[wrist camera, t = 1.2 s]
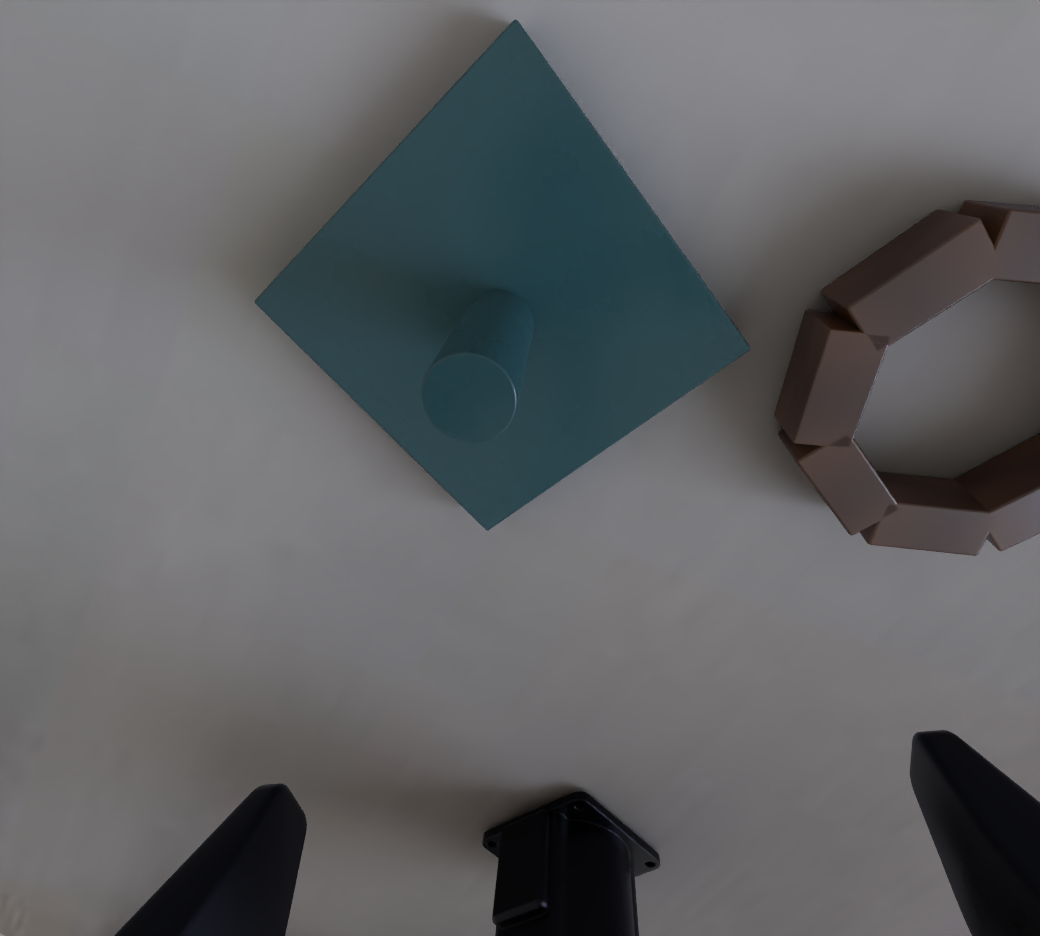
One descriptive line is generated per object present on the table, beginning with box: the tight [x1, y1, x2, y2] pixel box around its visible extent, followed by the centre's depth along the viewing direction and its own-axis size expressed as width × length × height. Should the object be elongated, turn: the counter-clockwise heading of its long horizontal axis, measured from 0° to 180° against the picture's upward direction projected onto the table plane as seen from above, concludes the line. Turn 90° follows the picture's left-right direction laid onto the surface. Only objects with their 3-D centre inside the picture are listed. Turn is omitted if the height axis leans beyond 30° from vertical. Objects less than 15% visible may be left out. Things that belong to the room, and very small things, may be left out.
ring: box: [774, 200, 1040, 556], centre depth 17 cm, size 10×10×2 cm
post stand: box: [255, 20, 750, 530], centre depth 16 cm, size 10×10×7 cm
